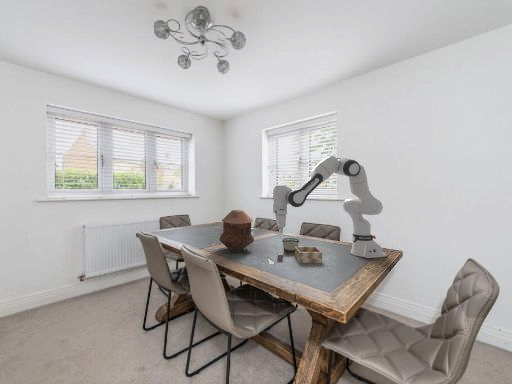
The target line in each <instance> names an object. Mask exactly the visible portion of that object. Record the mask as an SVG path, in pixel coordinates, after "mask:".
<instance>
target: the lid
mask: <svg viewBox="0 0 512 384" xmlns="http://www.w3.org/2000/svg"><path fill="white" fill-rule="evenodd" d="M267 259H268V263H269V265H270V266H271V265H272V266H273V265H275V261H274V260H273V259H272V258H271V257H270V256H267ZM277 261H284V254H283V252H281V253H277Z"/></svg>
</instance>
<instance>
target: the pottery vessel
mask: <svg viewBox="0 0 512 384" xmlns="http://www.w3.org/2000/svg"><path fill="white" fill-rule="evenodd" d="M221 222H223V223H222V224H223V225H222V226H223V227H222V233H221V234H220V237H219V238H218V239H219V241H220V243H221V244H223V246H225V247H226V248H227V249H228V250H229V252H232V253H239V252H242V251H243V250H244V249H245V248H247V247H248V246H249V245H251V244H253V242H254V241H255V239H254V236H253V234H252V223H253V222H254V220H253V219H252V218H251V217H250V216H249V215H248V214H247V213H246V211H244V210H242V209H231V211H230V212H228V213H227V215H226V216H225V217H224V218H222V219H221Z"/></svg>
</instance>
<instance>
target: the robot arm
mask: <svg viewBox="0 0 512 384" xmlns="http://www.w3.org/2000/svg"><path fill="white" fill-rule="evenodd" d="M333 174H338V175H340V176H345V177H348V181H349V186H350V187H349V188H350V192H351V194H353V196H355V198H354V197H352V198H346V199H345V200H344V202H343V204H342V205H343V206H342V207H343V210H344V211H345V213H347V214H348V215H349V217H350V218H351V222H352V228H353V229H352V231H353V232H352V234H351V235H352V237H351V238H352V246H351V249H350V254H352V255H353V256H356V257H361V258H365V259H372V258H374V259H375V258H384V257H387V254H386V253H385V252H383V247H382V246H381V245H380V244H379V243H378V242H377V241H375V240H376V238H377V236H376V235H373V234H371V232H372V231H371V226H372V225H371V223H370V222H369V220H367V219H366V218H364V216H363V215H365V216H374V215H375V216H376V215H380V214H381V213H382V211H383V208H384V206H383V204H382V202H381V200H379V199H377V198H376V197H375V196H374V195H373V194H372V193H371V191H370V188H369V182H368V177H367V173H366V169H365V167H364V166H363V164H359V162H358V161H356V160H355V159H350V158H345V157H343V158H341V157H336V156H334V155H329V156H327V157H325V158H324V159H323V160H321V161H319V163H317V164H316V165H315V166H314V167H313V168H312V169H311V171H310V177H309V179H308V180H307V181H306V182H305V183H304V184H303V185H302V186H301V187H300V188H298V189H293V188H291V187H289V186H287V185H286V184H279V185H276V186H274V188H273V193H272V200H273V204H272V214H274V215H275V222H276V225H277V230H278V231H279V234H280V235H281V234H283V233H284V228H285V227H286V226H287V225H286V224H287V215H288V205H290V206H292V207H294V208H299V207H302V206H303V205H304V204H305V203H306V200H307V198H308V196H309V195H310V194H311V193H312V192H313V191H314V190H315V189H316V188H317V187H318V186H319V185H321V184H322V183H324V182H325V181H327V180H329V178H330V177H331V176H333ZM357 197H358V198H357Z"/></svg>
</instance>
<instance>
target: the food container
mask: <svg viewBox="0 0 512 384" xmlns="http://www.w3.org/2000/svg"><path fill="white" fill-rule="evenodd" d="M281 240H282V241H281V242H282V247H283V253H287V254H295V247H299V244H300V243H301V242H300V240H299V239H298V238H295V237H284V238H283V239H281Z"/></svg>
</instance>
